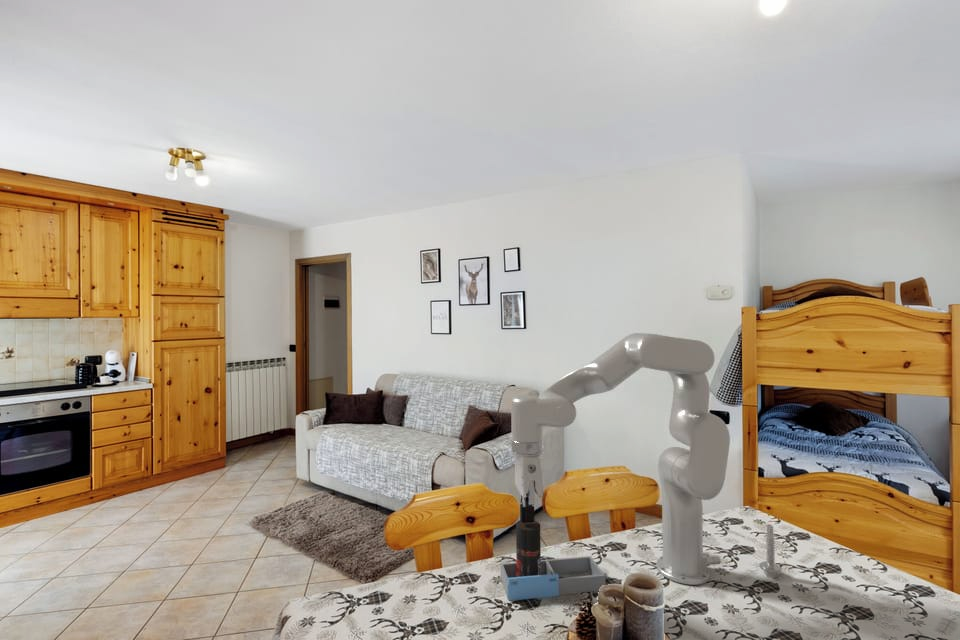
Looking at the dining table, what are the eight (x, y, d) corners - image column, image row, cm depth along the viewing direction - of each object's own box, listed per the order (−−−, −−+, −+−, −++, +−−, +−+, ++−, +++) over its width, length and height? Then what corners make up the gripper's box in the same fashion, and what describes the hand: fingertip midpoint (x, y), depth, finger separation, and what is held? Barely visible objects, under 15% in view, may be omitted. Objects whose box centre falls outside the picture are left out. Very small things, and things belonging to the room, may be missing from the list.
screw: (760, 568, 117) (782, 574, 115) (758, 576, 114) (781, 583, 111) (759, 518, 118) (781, 523, 115) (758, 525, 114) (781, 530, 111)
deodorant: (540, 594, 107) (539, 531, 107) (515, 591, 108) (514, 528, 108) (541, 580, 113) (541, 520, 113) (518, 577, 114) (517, 518, 114)
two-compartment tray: (590, 569, 117) (590, 550, 117) (606, 591, 108) (606, 570, 108) (500, 577, 114) (500, 557, 114) (508, 600, 104) (508, 579, 105)
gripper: (550, 454, 104) (550, 534, 104) (533, 438, 119) (534, 508, 118) (518, 456, 103) (519, 536, 103) (505, 439, 118) (506, 509, 117)
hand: (527, 521), depth 110 cm, fingers closed
